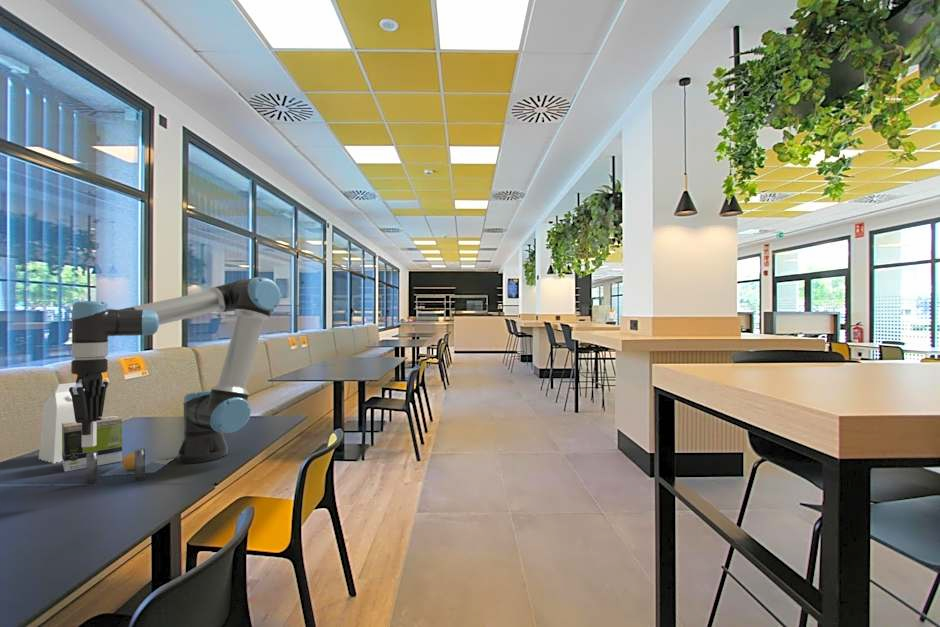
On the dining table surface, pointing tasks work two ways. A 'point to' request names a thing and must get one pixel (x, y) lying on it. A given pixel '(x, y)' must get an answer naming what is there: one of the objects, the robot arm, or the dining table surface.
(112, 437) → the tea box
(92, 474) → the outer post
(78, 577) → the dining table surface
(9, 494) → the dining table surface
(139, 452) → the inner post
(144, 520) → the dining table surface
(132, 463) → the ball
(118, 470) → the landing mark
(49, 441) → the milk
